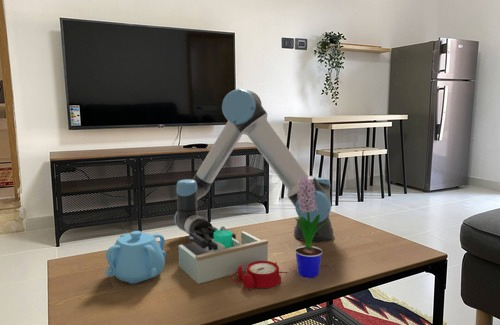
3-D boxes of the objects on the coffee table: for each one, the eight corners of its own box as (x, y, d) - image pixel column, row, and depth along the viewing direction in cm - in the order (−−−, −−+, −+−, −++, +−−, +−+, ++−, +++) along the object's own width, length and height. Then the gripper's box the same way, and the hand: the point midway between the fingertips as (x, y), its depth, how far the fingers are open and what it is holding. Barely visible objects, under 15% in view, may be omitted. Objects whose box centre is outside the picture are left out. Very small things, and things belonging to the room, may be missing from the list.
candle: (210, 264, 120) (209, 228, 118) (223, 258, 125) (223, 223, 123) (223, 269, 116) (222, 232, 114) (236, 263, 121) (236, 227, 119)
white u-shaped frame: (244, 250, 133) (244, 228, 132) (267, 264, 121) (268, 240, 120) (179, 266, 120) (178, 242, 119) (198, 284, 108) (197, 257, 107)
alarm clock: (291, 272, 107) (241, 269, 101) (286, 293, 107) (236, 292, 102) (275, 258, 117) (229, 255, 111) (271, 278, 117) (224, 275, 111)
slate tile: (211, 240, 142) (211, 238, 142) (230, 252, 131) (230, 250, 131) (176, 248, 135) (176, 246, 135) (192, 261, 123) (192, 259, 123)
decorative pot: (173, 265, 121) (171, 224, 119) (154, 289, 105) (152, 242, 103) (124, 263, 123) (122, 223, 121) (99, 286, 107) (96, 240, 105)
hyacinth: (319, 284, 107) (321, 181, 103) (288, 274, 114) (289, 176, 109) (332, 273, 114) (335, 176, 110) (302, 264, 120) (304, 172, 116)
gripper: (220, 233, 140) (255, 253, 120) (175, 243, 130) (205, 266, 111) (220, 214, 138) (255, 231, 119) (174, 222, 129) (204, 242, 110)
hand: (231, 248), depth 115 cm, fingers closed on candle, 5 cm apart
